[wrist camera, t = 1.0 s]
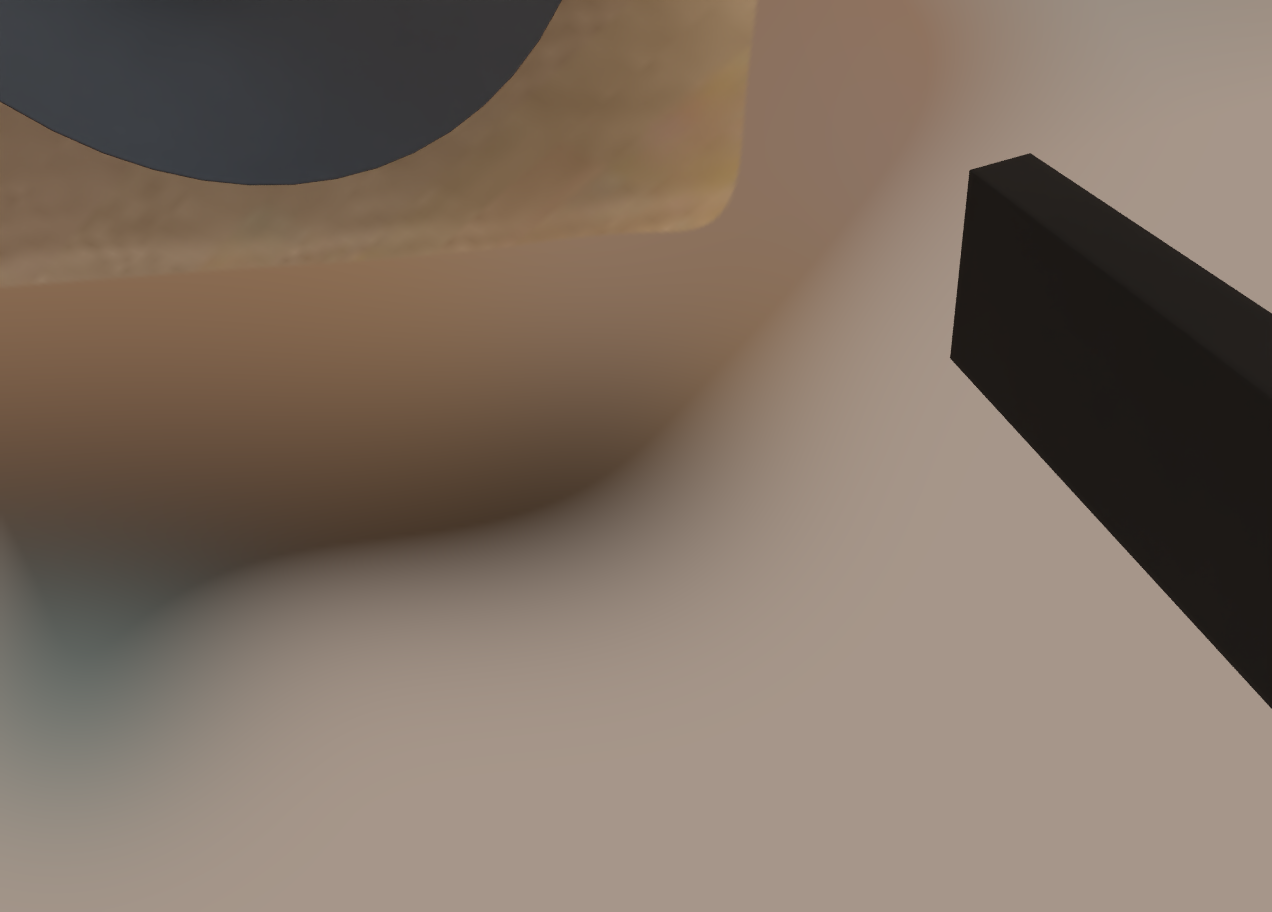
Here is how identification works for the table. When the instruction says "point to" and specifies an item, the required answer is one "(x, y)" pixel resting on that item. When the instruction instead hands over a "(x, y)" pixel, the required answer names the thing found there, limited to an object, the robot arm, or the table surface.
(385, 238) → the table surface
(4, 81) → the pan lid
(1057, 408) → the robot arm
